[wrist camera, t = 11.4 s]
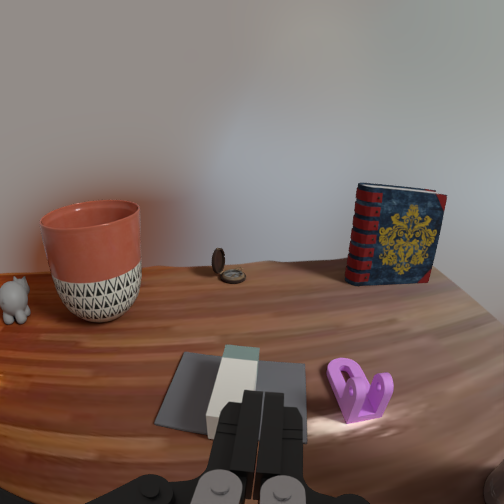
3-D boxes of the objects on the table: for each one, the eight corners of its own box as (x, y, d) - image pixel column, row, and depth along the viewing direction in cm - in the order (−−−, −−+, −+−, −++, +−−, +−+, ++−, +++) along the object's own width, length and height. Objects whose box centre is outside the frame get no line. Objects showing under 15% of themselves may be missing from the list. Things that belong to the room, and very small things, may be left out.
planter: (109, 354, 49) (85, 235, 41) (44, 322, 55) (21, 222, 47) (167, 303, 66) (160, 203, 58) (102, 284, 72) (90, 197, 64)
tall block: (247, 443, 35) (257, 372, 48) (248, 420, 33) (259, 347, 46) (208, 438, 35) (226, 368, 48) (205, 415, 33) (225, 344, 46)
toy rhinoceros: (43, 299, 63) (35, 265, 60) (26, 327, 52) (14, 291, 49) (20, 299, 61) (11, 266, 58) (0, 326, 51) (-12, 291, 47)
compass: (241, 286, 75) (241, 257, 73) (210, 280, 77) (209, 252, 75) (252, 272, 82) (253, 246, 80) (223, 267, 85) (223, 241, 82)
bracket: (381, 417, 39) (396, 384, 36) (346, 424, 38) (358, 391, 36) (352, 362, 51) (361, 329, 48) (322, 365, 50) (329, 332, 48)
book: (349, 287, 76) (364, 186, 67) (340, 274, 83) (352, 181, 73) (429, 283, 79) (448, 195, 69) (417, 272, 85) (433, 189, 76)
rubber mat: (304, 365, 50) (304, 363, 50) (306, 443, 35) (307, 442, 35) (184, 353, 52) (184, 351, 51) (154, 424, 37) (154, 423, 37)
